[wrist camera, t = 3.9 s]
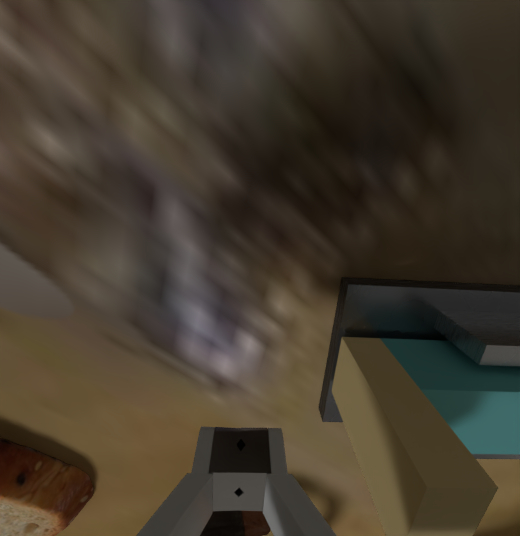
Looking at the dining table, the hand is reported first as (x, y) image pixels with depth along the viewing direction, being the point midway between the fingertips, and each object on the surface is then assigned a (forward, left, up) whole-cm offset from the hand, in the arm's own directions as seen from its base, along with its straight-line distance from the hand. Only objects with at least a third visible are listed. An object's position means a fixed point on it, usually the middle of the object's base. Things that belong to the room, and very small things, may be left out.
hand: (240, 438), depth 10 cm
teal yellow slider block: (0, +13, -4) cm, 13 cm away
